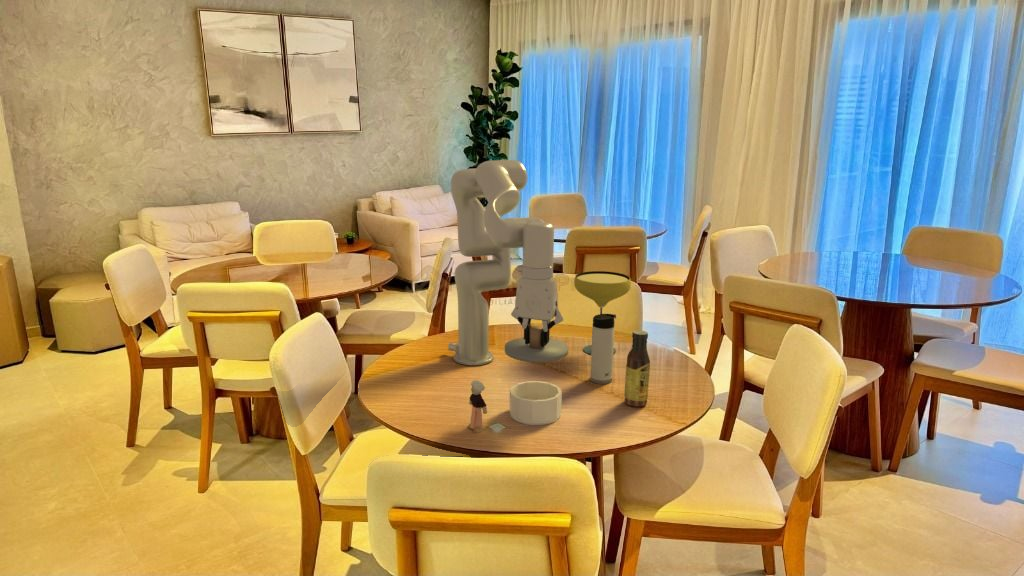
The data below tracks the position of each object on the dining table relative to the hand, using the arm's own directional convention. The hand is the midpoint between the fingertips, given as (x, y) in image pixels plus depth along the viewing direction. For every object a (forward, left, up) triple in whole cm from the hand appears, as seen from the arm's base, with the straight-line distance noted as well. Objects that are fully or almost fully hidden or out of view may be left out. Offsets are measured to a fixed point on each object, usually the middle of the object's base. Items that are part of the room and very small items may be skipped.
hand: (536, 343), depth 167 cm
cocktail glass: (+1, +55, -19) cm, 58 cm away
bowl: (0, 0, -19) cm, 19 cm away
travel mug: (+9, +30, -19) cm, 37 cm away
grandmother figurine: (-10, -14, -19) cm, 26 cm away
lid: (0, 0, -2) cm, 2 cm away
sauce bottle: (+22, +18, -19) cm, 34 cm away
